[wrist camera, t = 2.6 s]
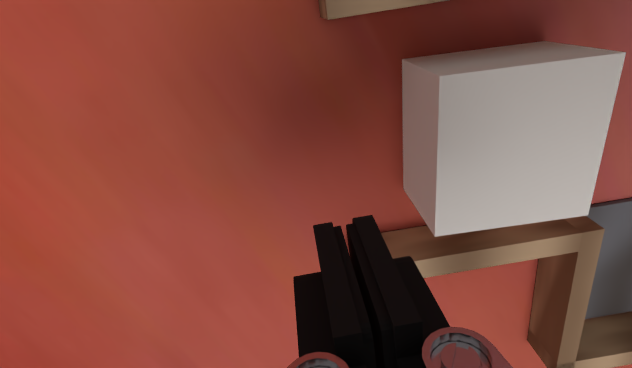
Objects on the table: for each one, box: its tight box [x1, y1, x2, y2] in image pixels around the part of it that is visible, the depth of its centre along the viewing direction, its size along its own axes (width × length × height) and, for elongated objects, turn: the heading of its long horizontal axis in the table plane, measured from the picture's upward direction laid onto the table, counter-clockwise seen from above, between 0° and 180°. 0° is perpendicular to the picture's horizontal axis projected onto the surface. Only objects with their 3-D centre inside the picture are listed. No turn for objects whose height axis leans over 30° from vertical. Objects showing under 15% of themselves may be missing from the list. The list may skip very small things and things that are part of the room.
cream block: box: [402, 41, 626, 237], centre depth 18 cm, size 7×7×5 cm
